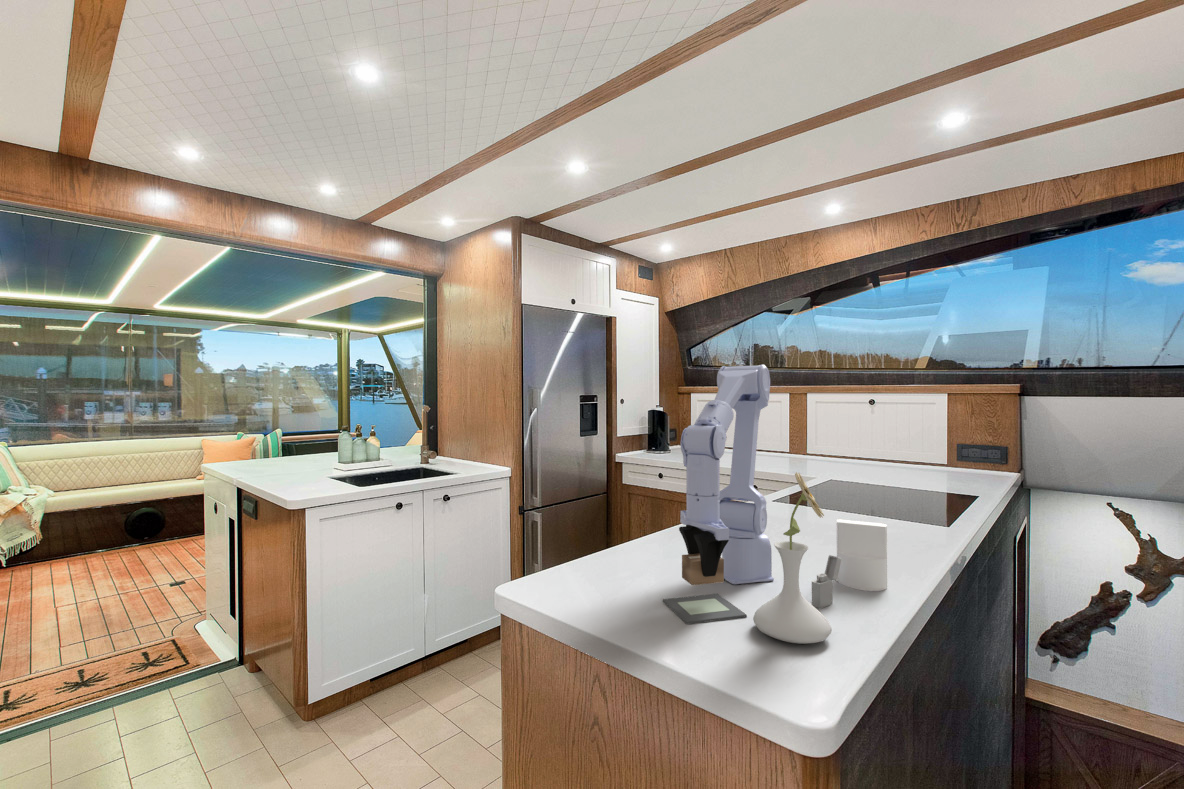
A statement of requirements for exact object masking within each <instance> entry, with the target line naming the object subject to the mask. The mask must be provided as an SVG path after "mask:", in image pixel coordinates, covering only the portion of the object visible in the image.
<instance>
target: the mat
mask: <svg viewBox="0 0 1184 789" xmlns="http://www.w3.org/2000/svg"><path fill="white" fill-rule="evenodd" d="M662 602H663V603H664V604H665V605H666V606H667V608H670V610H672V612H673V613H674V614H676V616H678V617H679V619H681V621H683V622H684V623H685V624H686V625H690V624H691V625H692V624H699V623H709V622H710V623H711V622H718V621H724V620H734V619H742V618H747V617H748V615H747V614H746V613H745V612H744V611H742V610H741V609H739V608H738V607H737V606H736V605H734V604H733V603H732V602H730V601H728V600H727V599H726V598H725V597H723V596H722V595H720V594H719V593H710V594H708V593H707V594H700V595H689V596H680V597H669V598H668V597H667V598H663V599H662Z"/></svg>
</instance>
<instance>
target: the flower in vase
mask: <svg viewBox="0 0 1184 789" xmlns="http://www.w3.org/2000/svg"><path fill="white" fill-rule="evenodd" d="M794 476H795V480H796V481H797V484H798V486H799V487H800V490H801V495H800V497H799V499H798V501H797V503H796V504H795V506H794V509H793V511H792V513H791V517H790V520H789V522H790V523H789V529H788V530H787V531H785V532H784V533H783V535H784V536H787V537H789V541H787V540H786V541H783V540H782V541H777V542H774V544H773V545H774V547H775V549H776V550H777V553H779V556H780V559H781V564H782V569H783V570H782V572H783V585H782V590H781V591H780V592H779V594H778V595H777V596H775V597H774V598H772V599H770V600H769V601H767V602H766V603H764V604H762V605H761V606H760V607H758V609H756V611H755V612H754V615H753V619H752V620H753V622H754V625H755V626H756V628H757V629H758V630H759V631H760V632H761V633H763V634H765V635H766V636H769V637H770V638H771V637H772V638H774V639H777V640H778V641H782V642H787V643H791V644H801V645H802V644H805V645H806V644H815V643H819V642H823V641H825V640H826V639H827V638H829V636H830V635H831V633H832V627H831V624H830V622H829V620H828V619H827V618H826V616H824V615H823V613H822V612H820V611H819V610H818V609H817V607H814V606H812V603H810V602H809V601H808V600H807V599H806V598H805V597H804V596H803V594H802V592H801V589H800V588H801V587H800V568H801V564H802V560H803V557H804V555H805V553H807V551H808V550H809V546H808V545H806V544H804V543H801V542H795V541H793V536H794V535H796V534H799V533H800V532H801V529H800V527H799V525H798V523H797V520H796V519H795V518H794V517H795V514H796V511H797V509H798V507H799V505H800V504H801V502H802V501H804V502H805V501H806V502H808V505H810V507H811V509H812V510H813V512H814V513H815V514H816V516H818V517H819V519H821V518H824V517H825V514H824V512H823V511H822V508H821V507H820V506H819V504H818V503H817V502H816V498H815V497H814V496H813V494H812V492H811V490H810V489H809V487H808V485H807V483H806V481H804V479H803V476H802V475H801V473H800V472H797V471H796V472H795V473H794Z"/></svg>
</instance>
